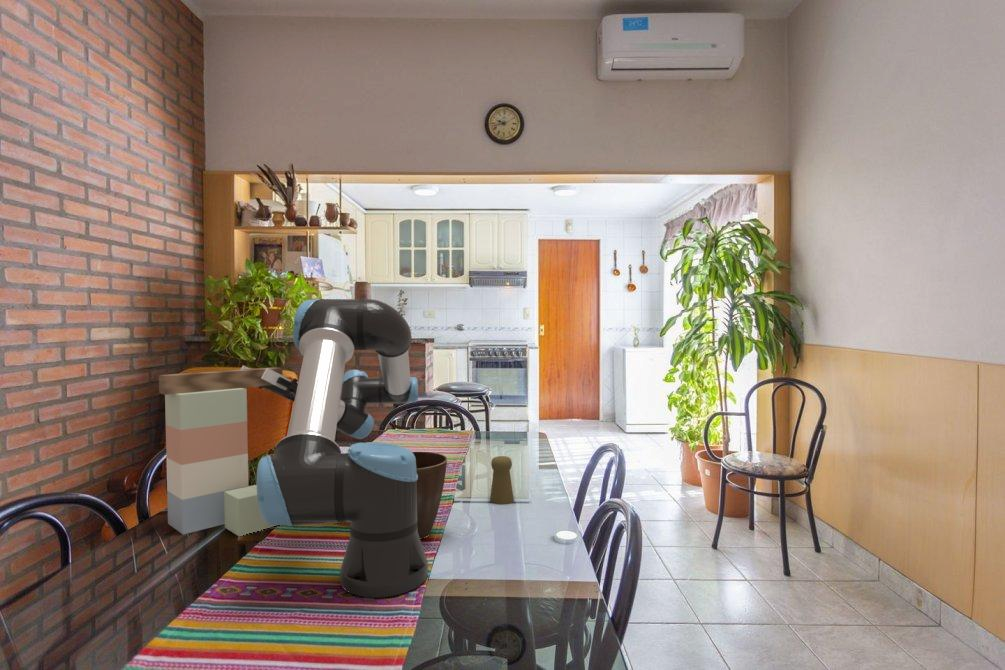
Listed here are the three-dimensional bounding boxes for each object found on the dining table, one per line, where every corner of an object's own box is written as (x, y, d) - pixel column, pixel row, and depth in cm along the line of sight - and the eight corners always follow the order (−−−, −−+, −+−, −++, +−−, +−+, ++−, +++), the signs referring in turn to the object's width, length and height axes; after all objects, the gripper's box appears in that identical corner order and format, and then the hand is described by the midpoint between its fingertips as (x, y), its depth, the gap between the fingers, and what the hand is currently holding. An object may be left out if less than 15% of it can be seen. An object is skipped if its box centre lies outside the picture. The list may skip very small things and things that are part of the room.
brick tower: (231, 508, 138) (229, 385, 137) (249, 517, 131) (246, 388, 130) (167, 523, 128) (164, 391, 127) (182, 534, 121) (179, 395, 120)
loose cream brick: (277, 513, 133) (277, 480, 133) (293, 521, 128) (293, 486, 128) (224, 527, 125) (224, 491, 125) (239, 536, 119) (238, 499, 119)
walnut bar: (275, 383, 142) (275, 367, 142) (282, 384, 140) (282, 368, 140) (159, 393, 123) (158, 375, 123) (165, 394, 121) (164, 376, 121)
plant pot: (435, 551, 111) (434, 470, 110) (364, 546, 114) (363, 467, 113) (456, 524, 125) (455, 452, 125) (393, 520, 128) (392, 450, 128)
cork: (514, 496, 145) (514, 454, 145) (512, 504, 139) (512, 460, 139) (491, 496, 145) (490, 453, 145) (488, 503, 139) (488, 459, 139)
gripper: (341, 425, 140) (267, 389, 126) (294, 414, 157) (224, 382, 143) (354, 397, 142) (283, 359, 129) (306, 390, 160) (238, 356, 146)
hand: (252, 371), depth 136 cm, fingers open, 13 cm apart
